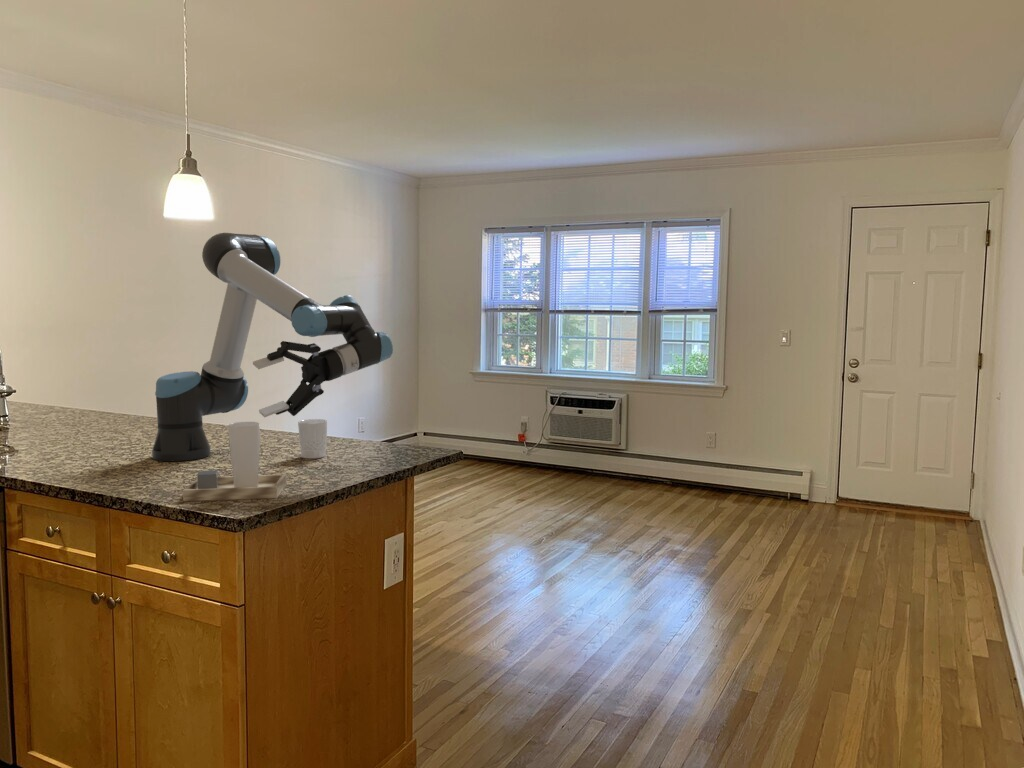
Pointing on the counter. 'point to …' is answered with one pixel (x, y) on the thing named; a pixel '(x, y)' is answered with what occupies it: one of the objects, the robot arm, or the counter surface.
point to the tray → (237, 489)
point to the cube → (208, 479)
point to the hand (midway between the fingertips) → (258, 390)
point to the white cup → (313, 438)
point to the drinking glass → (245, 453)
